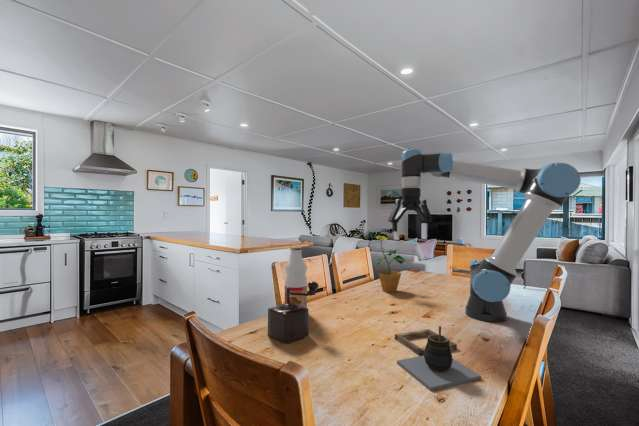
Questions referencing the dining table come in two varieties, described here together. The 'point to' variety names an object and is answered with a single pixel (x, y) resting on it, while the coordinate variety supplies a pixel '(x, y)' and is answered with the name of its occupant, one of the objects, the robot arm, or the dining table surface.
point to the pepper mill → (290, 318)
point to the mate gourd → (438, 352)
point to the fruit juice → (296, 277)
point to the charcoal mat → (437, 373)
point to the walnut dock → (404, 336)
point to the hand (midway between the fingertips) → (410, 239)
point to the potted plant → (389, 271)
